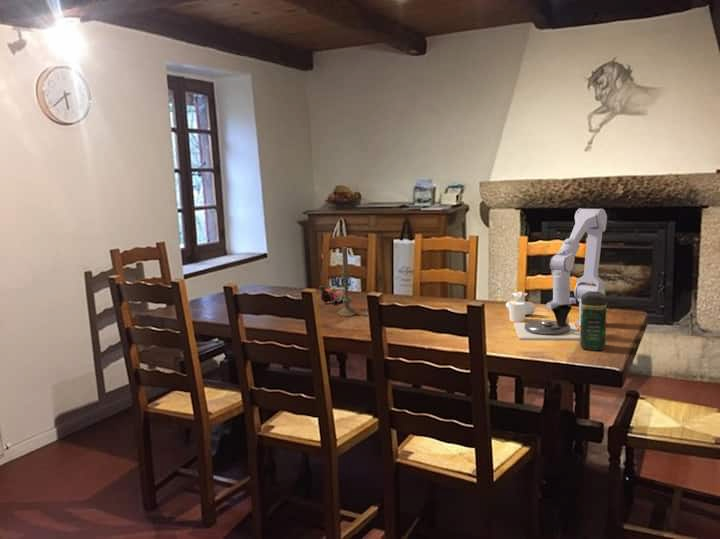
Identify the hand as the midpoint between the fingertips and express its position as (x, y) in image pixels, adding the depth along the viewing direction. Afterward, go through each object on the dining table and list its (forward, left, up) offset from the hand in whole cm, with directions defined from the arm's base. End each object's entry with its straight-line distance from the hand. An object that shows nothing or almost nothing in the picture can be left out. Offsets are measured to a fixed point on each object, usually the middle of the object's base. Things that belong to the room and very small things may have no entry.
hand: (561, 325), depth 223 cm
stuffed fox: (+96, -60, -4) cm, 113 cm away
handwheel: (+4, -4, -2) cm, 6 cm away
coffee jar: (-8, +16, -4) cm, 18 cm away
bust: (+11, -32, -4) cm, 34 cm away
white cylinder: (+13, -23, -4) cm, 27 cm away
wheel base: (+4, -4, -3) cm, 7 cm away
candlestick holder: (+84, -34, -4) cm, 91 cm away
